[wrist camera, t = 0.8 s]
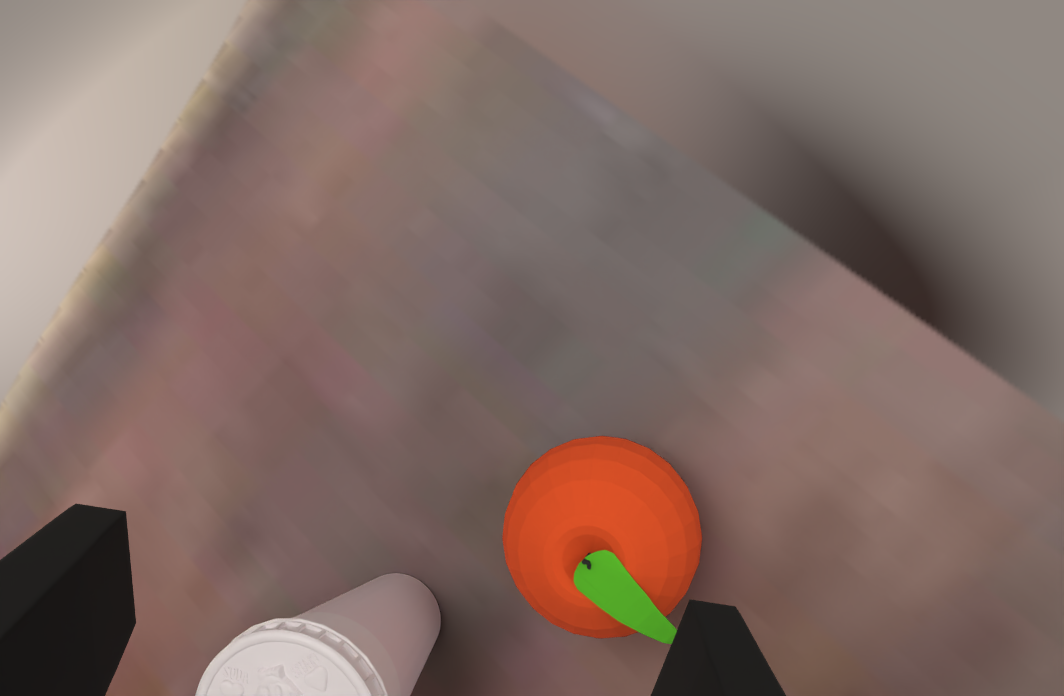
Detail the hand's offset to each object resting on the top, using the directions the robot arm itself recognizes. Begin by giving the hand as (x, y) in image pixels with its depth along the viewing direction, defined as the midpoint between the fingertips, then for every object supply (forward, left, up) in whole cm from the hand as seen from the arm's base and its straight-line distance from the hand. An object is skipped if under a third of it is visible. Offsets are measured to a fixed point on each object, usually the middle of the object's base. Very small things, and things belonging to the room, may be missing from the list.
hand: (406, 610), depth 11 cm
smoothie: (-11, +6, -23) cm, 26 cm away
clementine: (-4, -2, -23) cm, 23 cm away
